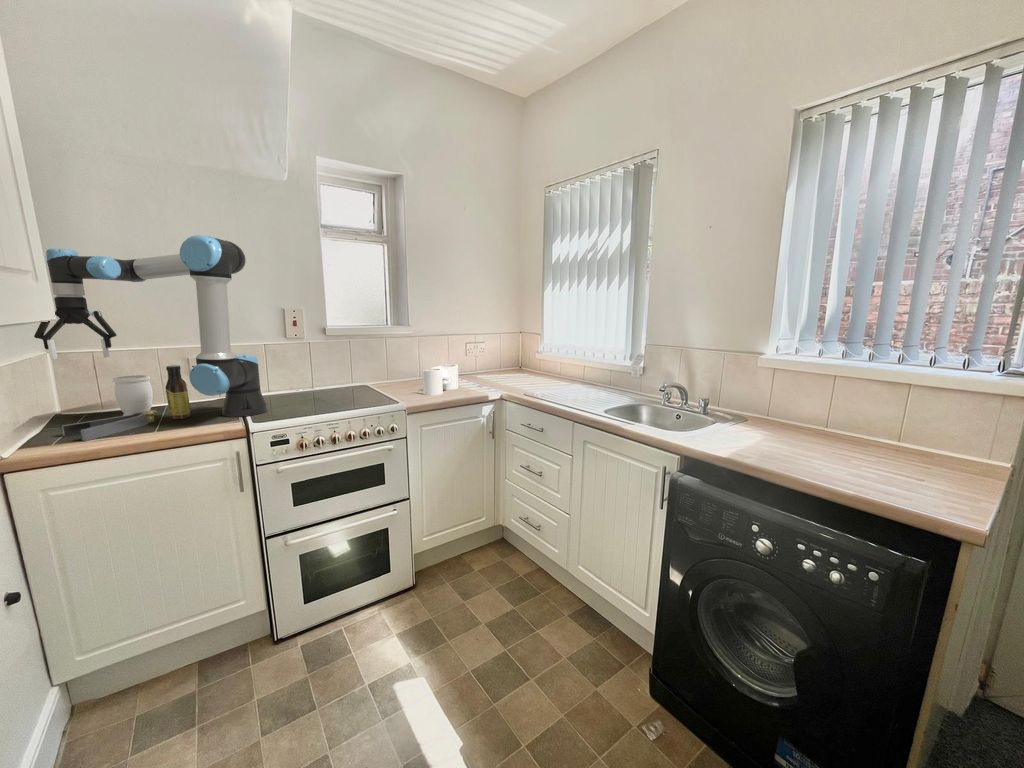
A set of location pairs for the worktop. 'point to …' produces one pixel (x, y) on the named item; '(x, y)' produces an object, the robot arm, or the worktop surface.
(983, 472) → the worktop surface
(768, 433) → the worktop surface
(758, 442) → the worktop surface
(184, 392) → the sauce bottle
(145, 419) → the arm
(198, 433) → the worktop surface
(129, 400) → the jar
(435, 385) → the white paper rolls
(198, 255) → the robot arm
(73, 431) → the tongs moving arm
